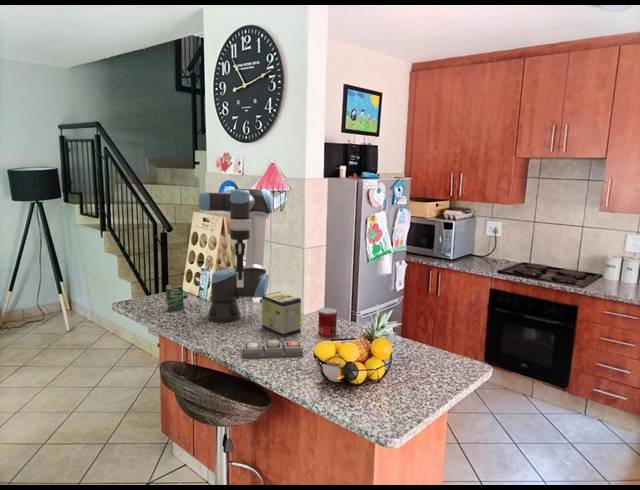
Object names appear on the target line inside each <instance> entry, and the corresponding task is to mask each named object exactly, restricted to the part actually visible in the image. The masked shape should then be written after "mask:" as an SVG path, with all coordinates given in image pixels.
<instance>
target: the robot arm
mask: <svg viewBox="0 0 640 490" xmlns="http://www.w3.org/2000/svg"><path fill="white" fill-rule="evenodd" d="M198 207H199V210H200V211H206V212H229V213H230V220H229V221H230V223H229V225H230V226H229V227H230V239H231V240H233V241H236V242H235V243H234V249H235V256H236V268H225V269H220V270H217V271H215V272H213V273H212V275H211V305H210V307H209V310H208V320H210V321H212V322H215V323H231V322H235V321H237V320H239V319H241V310H240V308H239V304H238V301H237V300H238V299H237V298H254V299H256V298H259V299H260V298H262V295H267V291H268V287H269V280H270V279H269V278H270V276H269V275H270V274H269V273H267V270H266V268H265V267H264V258H265V257H264V254H265V243H266V242H265V240H266V239H265V238H266V224H267V223H266V222H267V221H266V220H267V219H269V218H270V214H272V213H273V201H272V192H271V191H270V190H269V189H263V188H262V189H261V188H260V189H257V188H254V189H253V188H236V189H230V190H224V191H223V192H201V193H200V194H199V197H198ZM244 241H246V242H244ZM245 248H246V251H245ZM244 255H245V263H244Z"/></svg>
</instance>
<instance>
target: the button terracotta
mask: <svg viewBox="0 0 640 490" xmlns="http://www.w3.org/2000/svg"><path fill="white" fill-rule="evenodd" d="M295 341H296V340H295ZM295 341H292V342H289V341H287V342H288V347H299V343H298V342H295Z"/></svg>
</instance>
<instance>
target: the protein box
mask: <svg viewBox="0 0 640 490" xmlns="http://www.w3.org/2000/svg"><path fill="white" fill-rule="evenodd" d="M261 298H262V299H261V301H262V302H261V307H262V309H261V314H262V316H261V326H262V329H264V330H265V331H269V332H271V333H273V334H276V335H278V336H280V337H282V338H285V337H287V336H290V335H293V334H297V333H300V332H301V328H302V327H301V320H302V318H301V316H302V315H301V313H302V307H301V305H302V298H300V297H297V296H295V295H290V294H289V293H284V292H282V291H276V292H272V293H268V294H267V293H266V294H265V295H262V297H261Z"/></svg>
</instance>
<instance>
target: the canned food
mask: <svg viewBox="0 0 640 490" xmlns="http://www.w3.org/2000/svg"><path fill="white" fill-rule="evenodd" d="M337 314H338V311H337V309H335V308H332V307H322V308H319V309H318V328H317V329H318V335H319V336H321V337H324V338H330V337H334V336H336V335H337V319H338V315H337Z"/></svg>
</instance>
